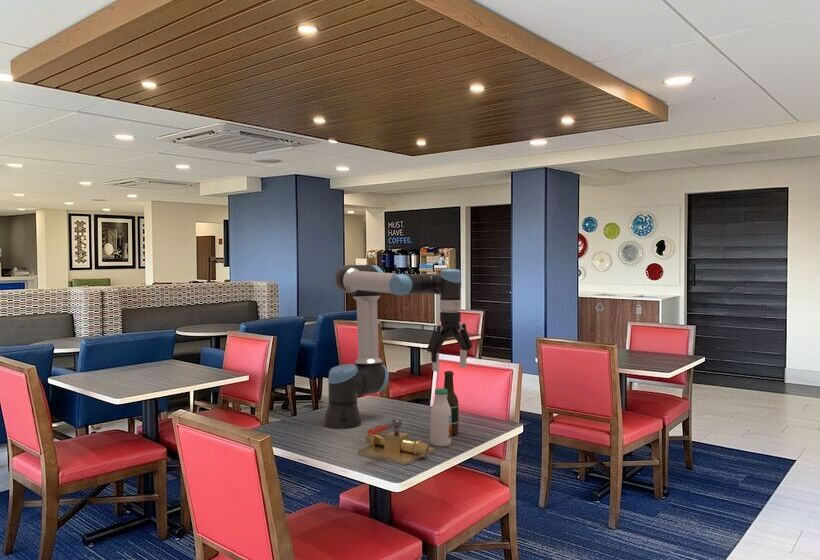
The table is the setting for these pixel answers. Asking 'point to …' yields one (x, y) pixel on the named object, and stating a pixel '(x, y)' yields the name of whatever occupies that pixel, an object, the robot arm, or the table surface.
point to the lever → (384, 427)
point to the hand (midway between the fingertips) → (449, 369)
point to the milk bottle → (440, 419)
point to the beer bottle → (452, 400)
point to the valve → (395, 447)
